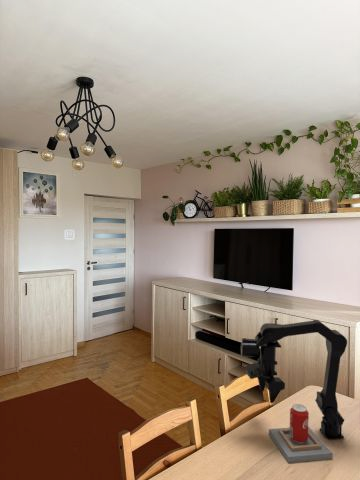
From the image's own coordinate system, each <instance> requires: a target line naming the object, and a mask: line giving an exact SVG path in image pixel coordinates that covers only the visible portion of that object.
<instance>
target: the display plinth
mask: <svg viewBox="0 0 360 480" xmlns="http://www.w3.org/2000/svg"><path fill="white" fill-rule="evenodd" d="M289 434H290V427H278V428H269V429H268V435H269V436H270V438H271V439H272V441H273V442H274V444H275V446H276V447H277V448H278V450H279V452H280V453H281V454H282V456H283V457H284V458H285V460H286V462H287V463H288V464H291V463H301V462H303V463H304V462H312V461H313V462H314V461H323V460H333V452H332V451H331V449H329V448H328V446H327V445H326V444H325V443H324V442H323V441H322V440H321V439H320V437H319V436H318V435H317V434H316V433H315V431H313V430H312V429H311V428H310V426H308V440H307V441H306V442H305V443H303V444H298V443H295V442H294V441H293V440H292V439H291V438H290V436H289Z"/></svg>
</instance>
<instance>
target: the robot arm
mask: <svg viewBox="0 0 360 480" xmlns="http://www.w3.org/2000/svg"><path fill="white" fill-rule="evenodd" d="M314 333H317V334H319V335H321V336H322V337H323V338H324V339H325V348H326V352H327V355H326V362H325V363H326V364H325V370H324V371H325V372H324V378H323V386H322V390H321V391H318V390H317V391H316V398H315V400H314V401H315V403H316V405H317V407H318V409H319V411H320V412H321V414H322V415H323V416H322V418H321V419H322V420H320V428H319V431H320V432H321V433H322V435H324V437H325V438H326V439H327V440H328V441H329V440H340V439H345V436H344V435H343V434H342V432H343V431H342V428H343V424H344V422H345V419H344V417H343V416H342V415H341V413H340V411H339V409H338V408H339V404H338V399H337V394H336V392H337V387H338V386H337V385H338V379H339V371H340V364H341V359H342V356H343V355H344V353H345V352H346V348H347V346H348V339H347V338H346V337H345V335H343V334H342V332H341V333H340V331H338V330H336V329H331V328H329V327H328V326H327V325H325V323H322V322H321V321H320V320H319V319H313V320H310V321H309V320H308V321H302V322H293V323H287V324H280V323H273V322H272V323H271V322H270V323H269V322H268V323H267V322H266V323H263V324H262V325H261V326H260V328H259V332H257V334H256V335H255V337H254V338H246V337H245V338H244V337H242V338H241V344H240V355H241V357H245V358H249V357H250V358H257V357H258V356H259V355H260V356H259V357H258V359H257V361H256V362H253V363H251V364H249V365H246V366H245V367H244V368H245V371H246V375H247V377H248V378H249V379H250V380H254V379H256V378H257V382H258V386H259V389H260V392H264V391H265V389H267V390H268V398H269V403H270V404H273V403H274V402H275V400H276V399H277V397H278V395H279V393H280V392H281V391H283V390H285V389H286V383H285V382H284V380H282V379H281V378H280V377H275V376H277V375H278V372H277V371H276V365H277V366H278V361H277V360H276V355H277V354H276V351H277V349H276V348H282V345H281V343H280V340H282V339H284V338H287V337H292V336H299V335H301V336H302V335H307V334H308V335H309V334H314Z"/></svg>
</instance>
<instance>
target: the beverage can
mask: <svg viewBox="0 0 360 480" xmlns="http://www.w3.org/2000/svg"><path fill="white" fill-rule="evenodd" d="M309 415H310V414H309V411H308V409H307V407H306V406H305V405H304V404H301V403H294V404H293V405H291V408H290V409H289V428H290V434H289V436H290V438H291V439H292V440H293V441H294V442H295V443H298V444H303V443H305V442H306V441H307V440H308V427H309V418H310V417H309Z"/></svg>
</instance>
